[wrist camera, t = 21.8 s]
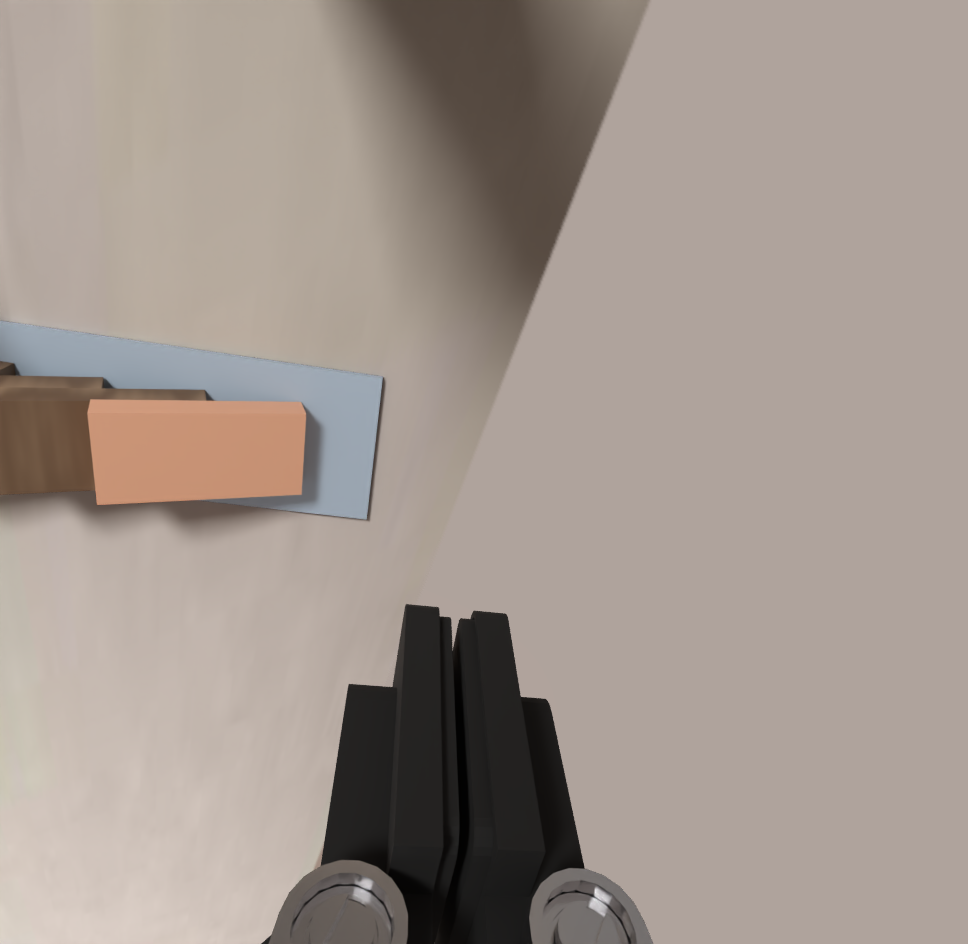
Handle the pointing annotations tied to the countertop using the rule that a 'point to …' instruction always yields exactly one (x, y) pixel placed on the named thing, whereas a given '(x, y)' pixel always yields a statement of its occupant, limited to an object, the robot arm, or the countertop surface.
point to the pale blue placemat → (225, 377)
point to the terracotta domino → (195, 449)
